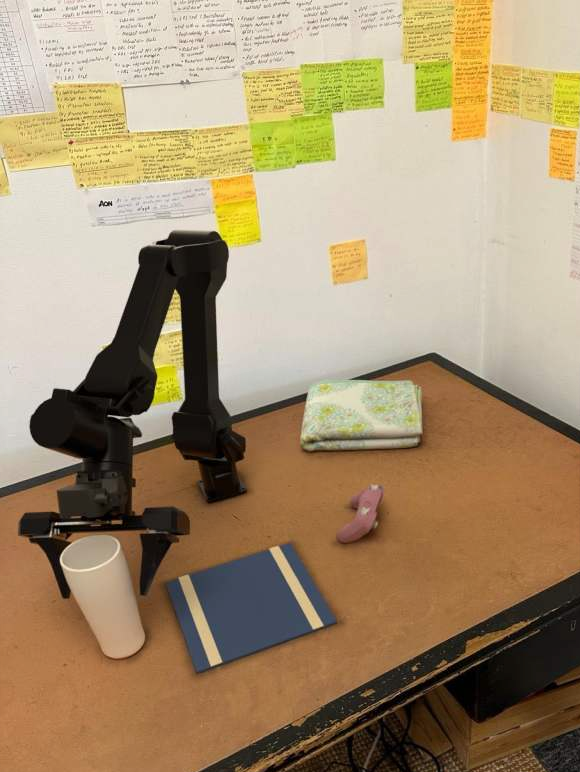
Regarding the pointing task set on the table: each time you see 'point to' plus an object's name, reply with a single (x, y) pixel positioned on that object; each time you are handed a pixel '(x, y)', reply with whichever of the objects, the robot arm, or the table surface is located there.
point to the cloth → (247, 606)
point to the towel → (362, 415)
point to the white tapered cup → (104, 593)
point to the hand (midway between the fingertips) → (104, 597)
